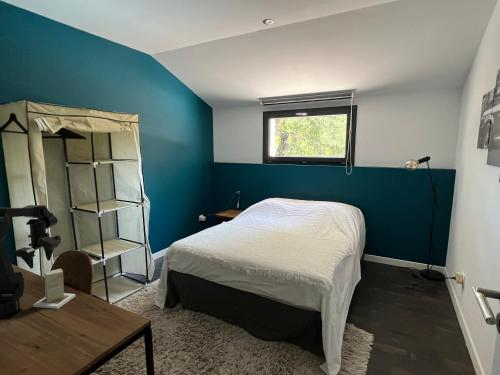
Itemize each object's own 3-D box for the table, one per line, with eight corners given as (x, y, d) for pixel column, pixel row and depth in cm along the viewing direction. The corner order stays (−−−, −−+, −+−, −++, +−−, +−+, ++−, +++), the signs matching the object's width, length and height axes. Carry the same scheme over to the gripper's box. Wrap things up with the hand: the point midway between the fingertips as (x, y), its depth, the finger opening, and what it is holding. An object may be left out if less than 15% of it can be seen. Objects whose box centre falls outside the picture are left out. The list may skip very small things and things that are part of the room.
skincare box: (47, 303, 113) (45, 275, 112) (45, 298, 117) (43, 272, 115) (64, 297, 118) (63, 271, 116) (62, 293, 121) (61, 268, 119)
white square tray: (57, 308, 112) (57, 305, 112) (33, 306, 113) (33, 303, 113) (75, 296, 122) (75, 293, 122) (53, 294, 123) (52, 291, 123)
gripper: (36, 239, 114) (39, 274, 116) (69, 227, 132) (71, 257, 134) (12, 237, 115) (15, 272, 117) (48, 226, 133) (50, 256, 135)
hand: (40, 264), depth 126 cm, fingers open, 9 cm apart
